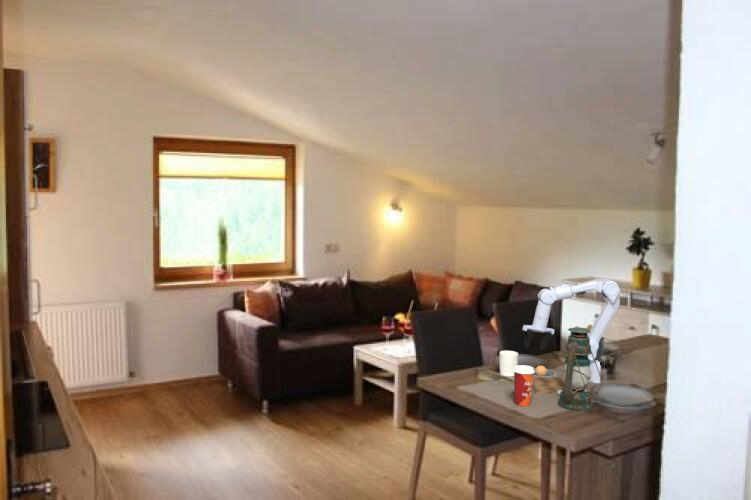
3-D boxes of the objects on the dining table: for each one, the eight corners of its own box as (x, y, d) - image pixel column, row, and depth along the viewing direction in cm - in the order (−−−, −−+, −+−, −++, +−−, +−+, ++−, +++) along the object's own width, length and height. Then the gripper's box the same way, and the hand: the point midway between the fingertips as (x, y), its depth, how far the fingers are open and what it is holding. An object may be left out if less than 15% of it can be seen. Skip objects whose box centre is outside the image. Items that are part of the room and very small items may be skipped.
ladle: (585, 391, 265) (586, 387, 264) (590, 394, 261) (590, 390, 260) (555, 392, 262) (555, 388, 262) (559, 395, 258) (559, 391, 258)
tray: (559, 383, 275) (559, 377, 275) (570, 394, 261) (570, 388, 261) (525, 383, 274) (525, 377, 274) (534, 393, 260) (535, 387, 260)
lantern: (568, 395, 259) (572, 320, 256) (605, 404, 250) (610, 325, 247) (548, 408, 244) (552, 328, 240) (586, 417, 235) (591, 334, 232)
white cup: (517, 379, 279) (518, 355, 278) (498, 377, 281) (499, 354, 280) (517, 373, 287) (518, 351, 286) (498, 372, 289) (499, 350, 288)
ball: (544, 375, 283) (545, 364, 282) (548, 378, 278) (548, 367, 278) (533, 375, 283) (534, 364, 282) (536, 378, 278) (537, 367, 278)
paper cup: (528, 409, 243) (530, 371, 241) (508, 404, 247) (510, 368, 245) (535, 403, 249) (537, 366, 248) (516, 399, 254) (517, 363, 252)
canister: (606, 361, 311) (608, 324, 309) (599, 367, 300) (601, 329, 298) (578, 356, 317) (580, 320, 316) (570, 362, 307) (572, 325, 305)
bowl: (551, 374, 287) (551, 368, 287) (560, 383, 275) (560, 376, 274) (522, 374, 287) (522, 368, 286) (529, 383, 274) (530, 376, 274)
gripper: (550, 316, 284) (542, 347, 285) (521, 312, 278) (514, 343, 280) (560, 321, 277) (552, 352, 279) (531, 317, 272) (523, 349, 273)
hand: (534, 348), depth 279 cm, fingers open, 7 cm apart
